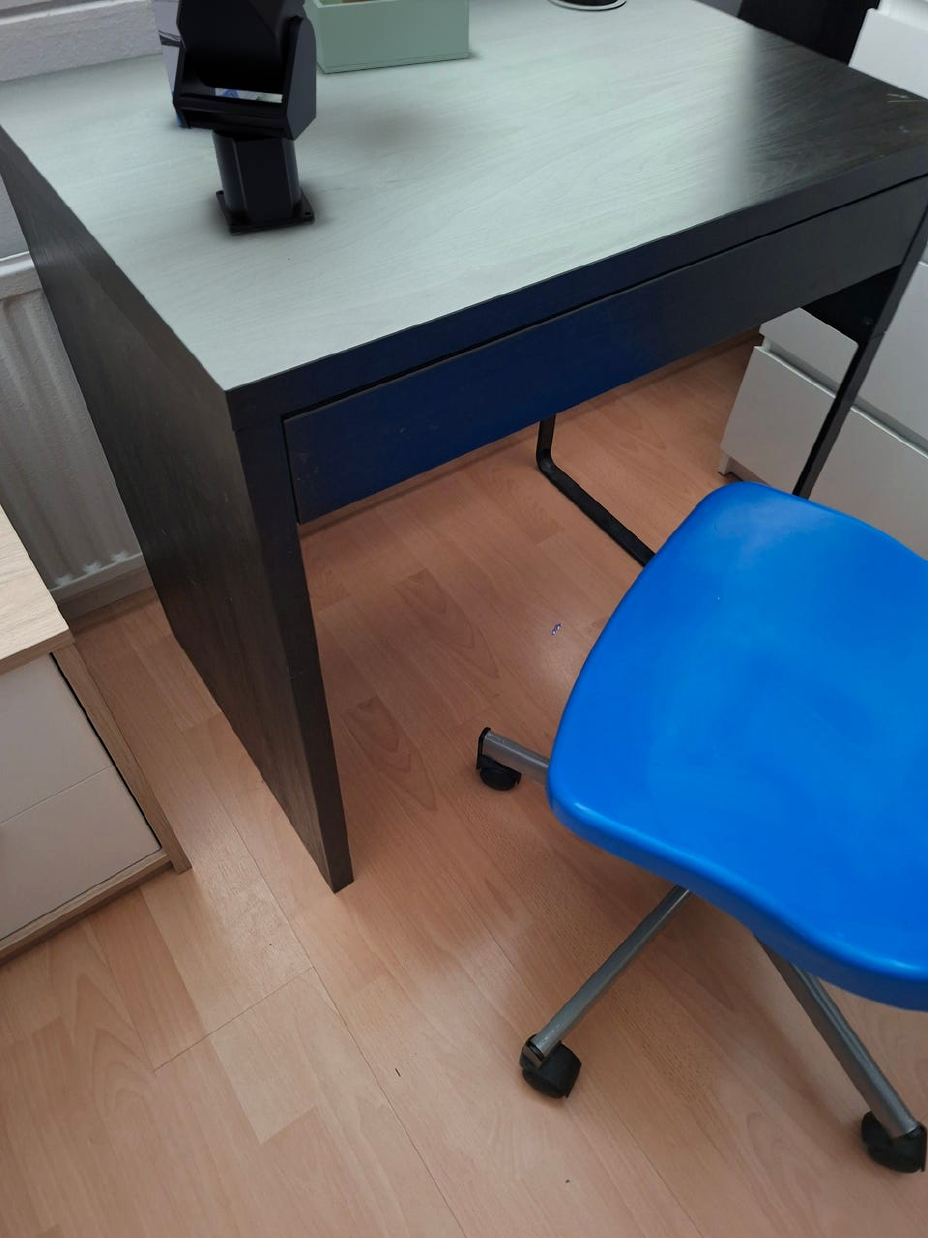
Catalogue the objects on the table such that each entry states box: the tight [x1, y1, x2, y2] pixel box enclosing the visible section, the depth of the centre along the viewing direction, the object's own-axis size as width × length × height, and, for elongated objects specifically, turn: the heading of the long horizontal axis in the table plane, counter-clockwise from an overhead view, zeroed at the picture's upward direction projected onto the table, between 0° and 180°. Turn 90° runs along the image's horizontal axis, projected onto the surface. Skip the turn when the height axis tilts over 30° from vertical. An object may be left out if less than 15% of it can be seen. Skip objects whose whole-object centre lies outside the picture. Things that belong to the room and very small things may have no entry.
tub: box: [303, 0, 470, 74], centre depth 88 cm, size 15×15×6 cm
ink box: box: [150, 0, 260, 126], centre depth 73 cm, size 8×5×12 cm, turn 168°
